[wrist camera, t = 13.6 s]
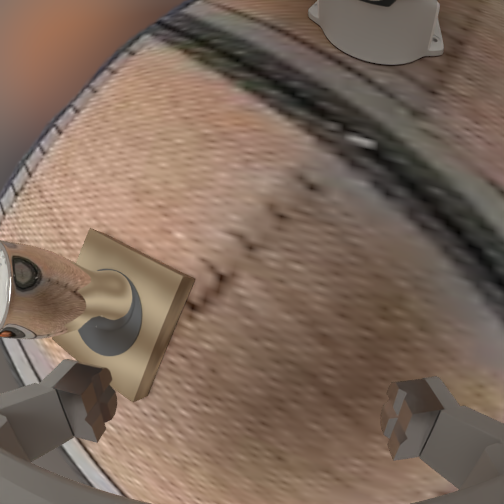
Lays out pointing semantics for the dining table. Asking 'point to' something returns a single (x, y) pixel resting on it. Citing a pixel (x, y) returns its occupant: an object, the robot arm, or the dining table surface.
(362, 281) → the dining table surface
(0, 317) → the beer glass
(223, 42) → the dining table surface
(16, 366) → the dining table surface
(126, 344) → the brass stand
